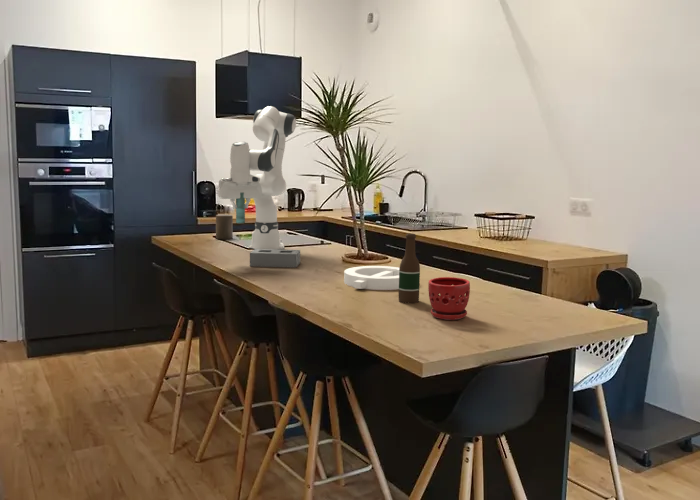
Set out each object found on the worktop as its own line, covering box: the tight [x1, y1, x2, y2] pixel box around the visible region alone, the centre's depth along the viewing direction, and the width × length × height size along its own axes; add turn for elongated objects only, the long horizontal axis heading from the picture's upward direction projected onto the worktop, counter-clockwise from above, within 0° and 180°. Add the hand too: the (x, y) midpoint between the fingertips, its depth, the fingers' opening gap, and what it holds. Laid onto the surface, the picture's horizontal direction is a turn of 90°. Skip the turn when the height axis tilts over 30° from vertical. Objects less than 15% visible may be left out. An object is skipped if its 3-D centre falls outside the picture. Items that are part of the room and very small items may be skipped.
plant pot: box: [427, 276, 471, 321], centre depth 215 cm, size 13×13×12 cm
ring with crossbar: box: [343, 265, 400, 291], centre depth 269 cm, size 28×28×5 cm
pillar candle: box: [215, 213, 234, 240], centre depth 389 cm, size 10×10×15 cm
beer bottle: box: [398, 232, 421, 304], centre depth 235 cm, size 8×8×24 cm
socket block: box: [249, 248, 301, 268], centre depth 306 cm, size 13×21×6 cm, turn 87°
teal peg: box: [235, 193, 246, 224], centre depth 306 cm, size 4×4×14 cm
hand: (240, 208), depth 306 cm, fingers closed on teal peg, 4 cm apart
